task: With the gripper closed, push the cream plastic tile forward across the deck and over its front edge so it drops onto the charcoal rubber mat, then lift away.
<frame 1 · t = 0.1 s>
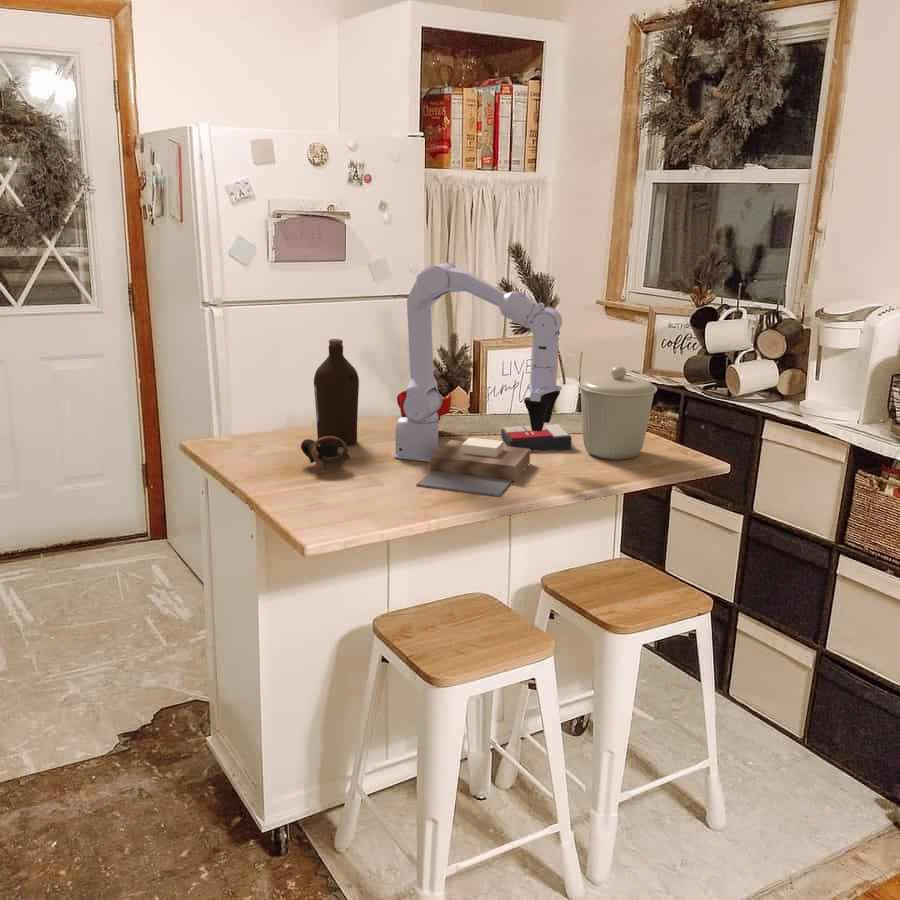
hand: (540, 426, 196), 10 cm above the table, tool pointing down, fingers open, 7 cm apart
deck: (480, 467, 200), on the table
mat: (464, 484, 189), on the table
canister: (612, 454, 212), on the table
tile: (482, 451, 200), point 3 cm above the table, touching deck
calculator: (535, 446, 219), on the table
olive oil: (337, 443, 217), on the table
ceramic cup: (419, 432, 228), on the table
pottery mug: (325, 468, 198), on the table
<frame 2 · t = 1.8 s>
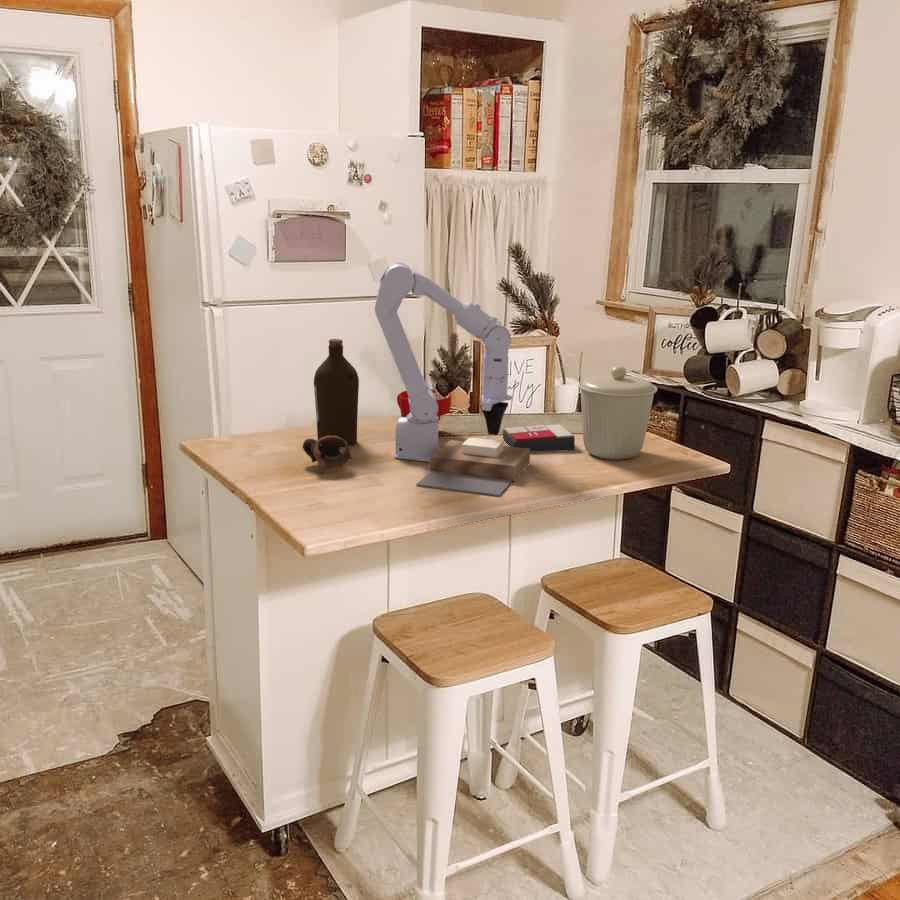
hand: (493, 434, 207), 5 cm above the table, tool pointing down, fingers closed
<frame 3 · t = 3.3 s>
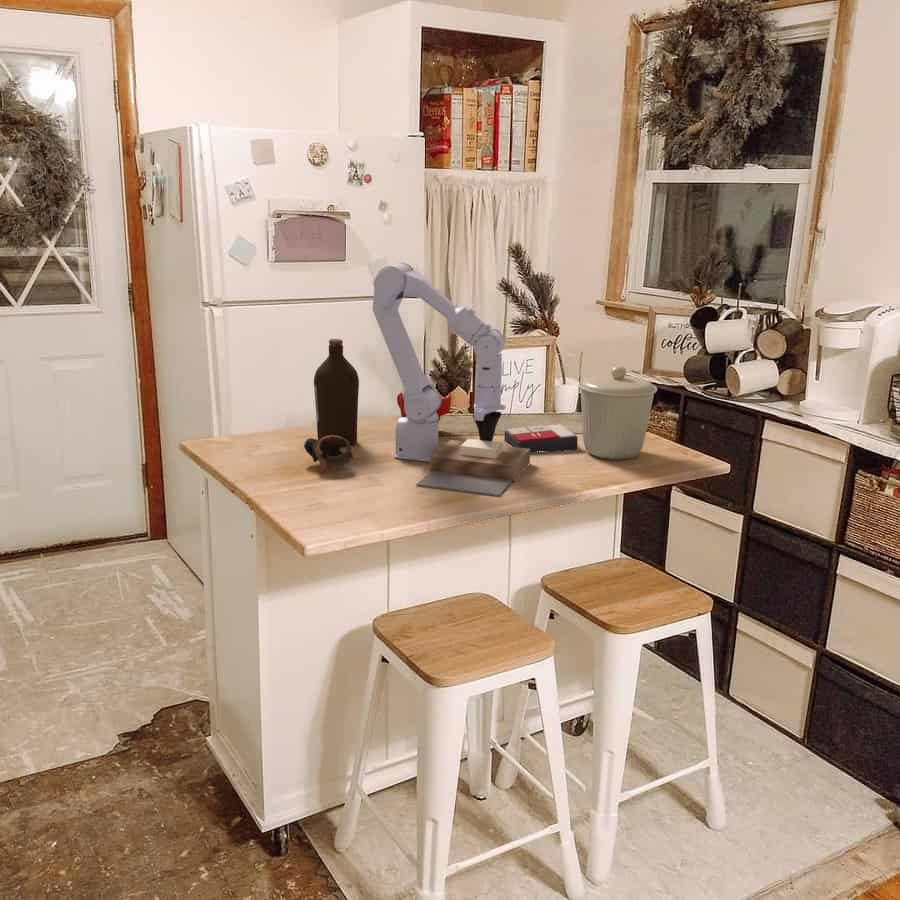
hand: (486, 444, 202), 4 cm above the table, tool pointing down, fingers closed
tile: (481, 452, 199), point 4 cm above the table, touching gripper
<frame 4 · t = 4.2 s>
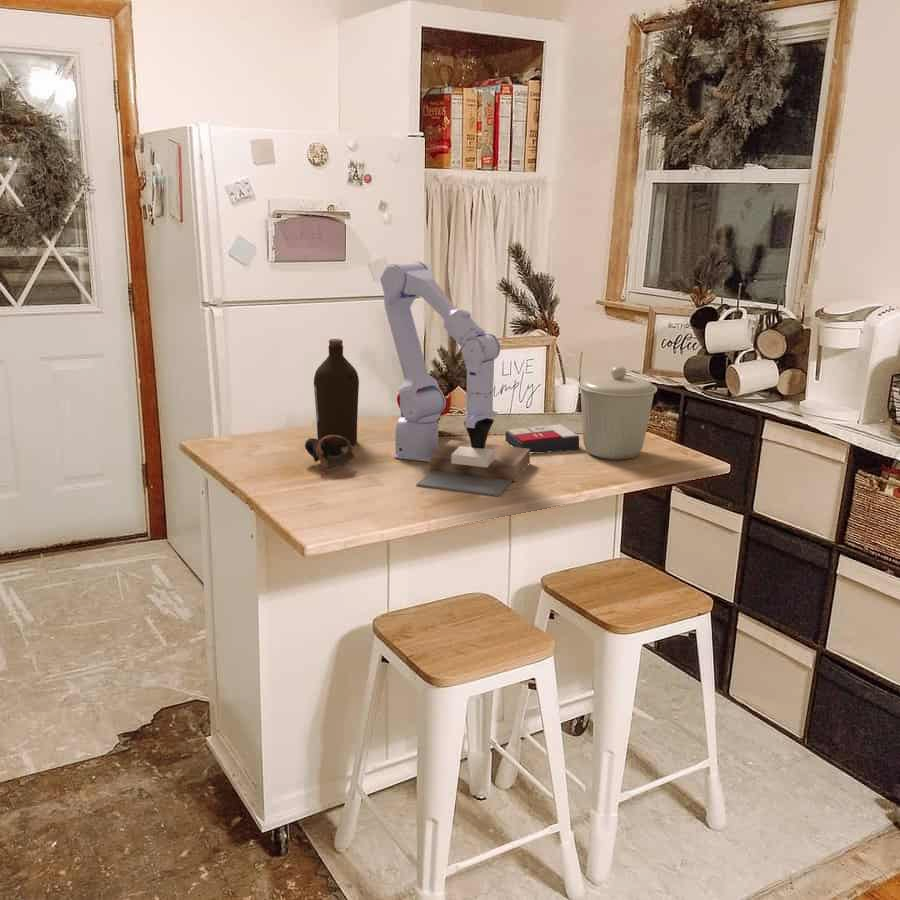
hand: (478, 452, 196), 4 cm above the table, tool pointing down, fingers closed
tile: (473, 461, 193), point 4 cm above the table, touching gripper
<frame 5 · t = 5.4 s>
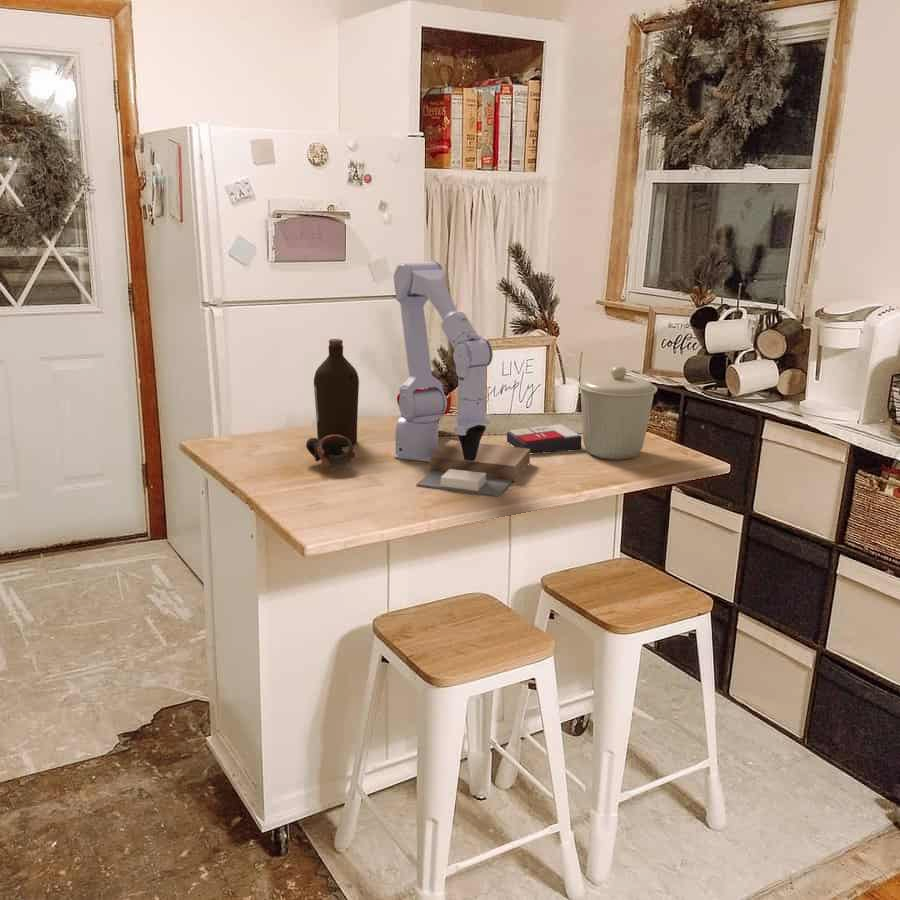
hand: (469, 459, 191), 4 cm above the table, tool pointing down, fingers closed
tile: (463, 475, 187), point 2 cm above the table, tilted 180°, touching mat
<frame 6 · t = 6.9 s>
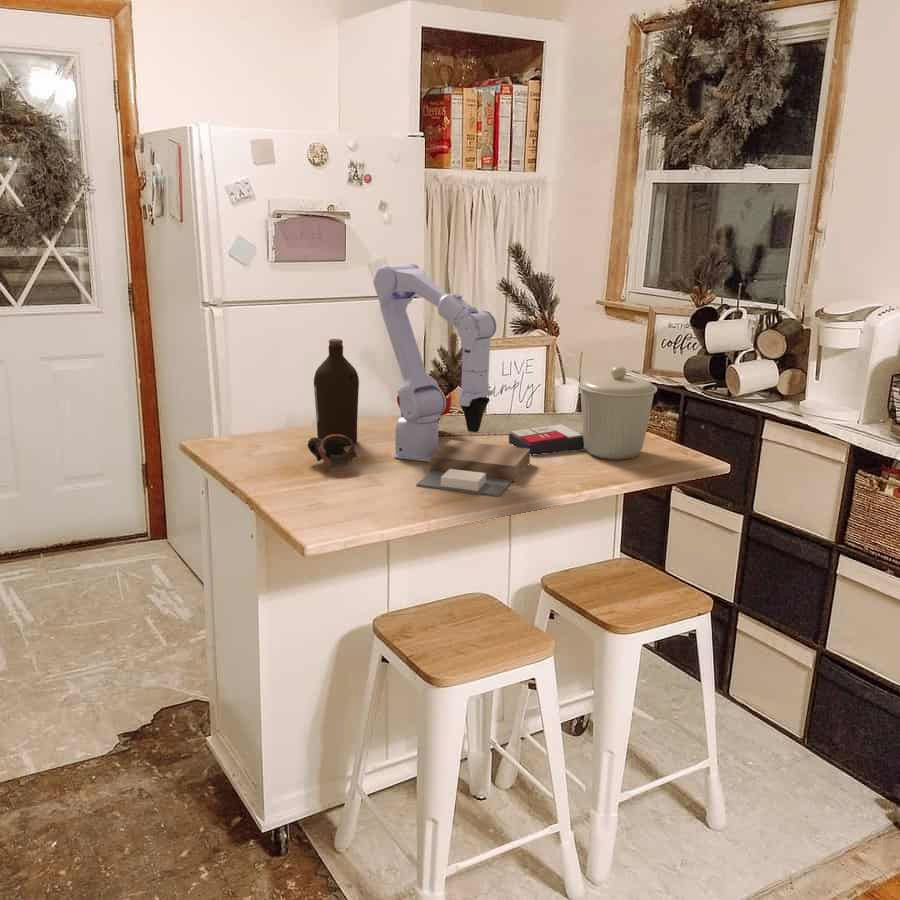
hand: (473, 431, 194), 9 cm above the table, tool pointing down, fingers closed
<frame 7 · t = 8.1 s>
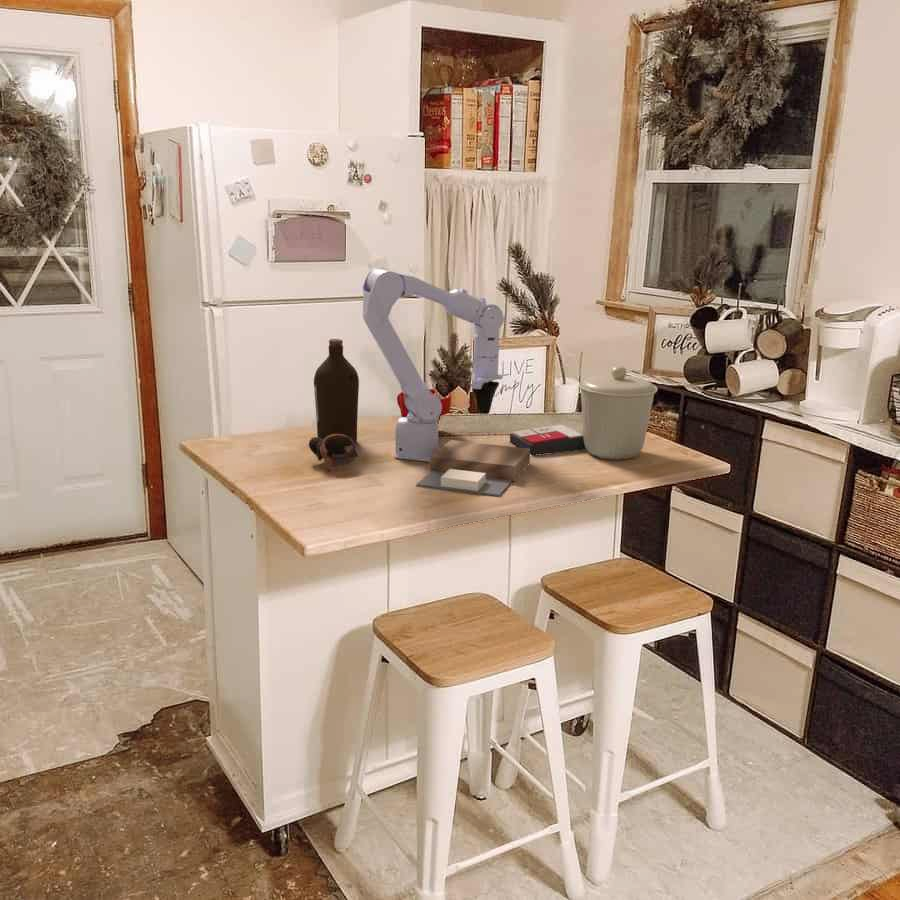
hand: (484, 413, 209), 9 cm above the table, tool pointing down, fingers closed
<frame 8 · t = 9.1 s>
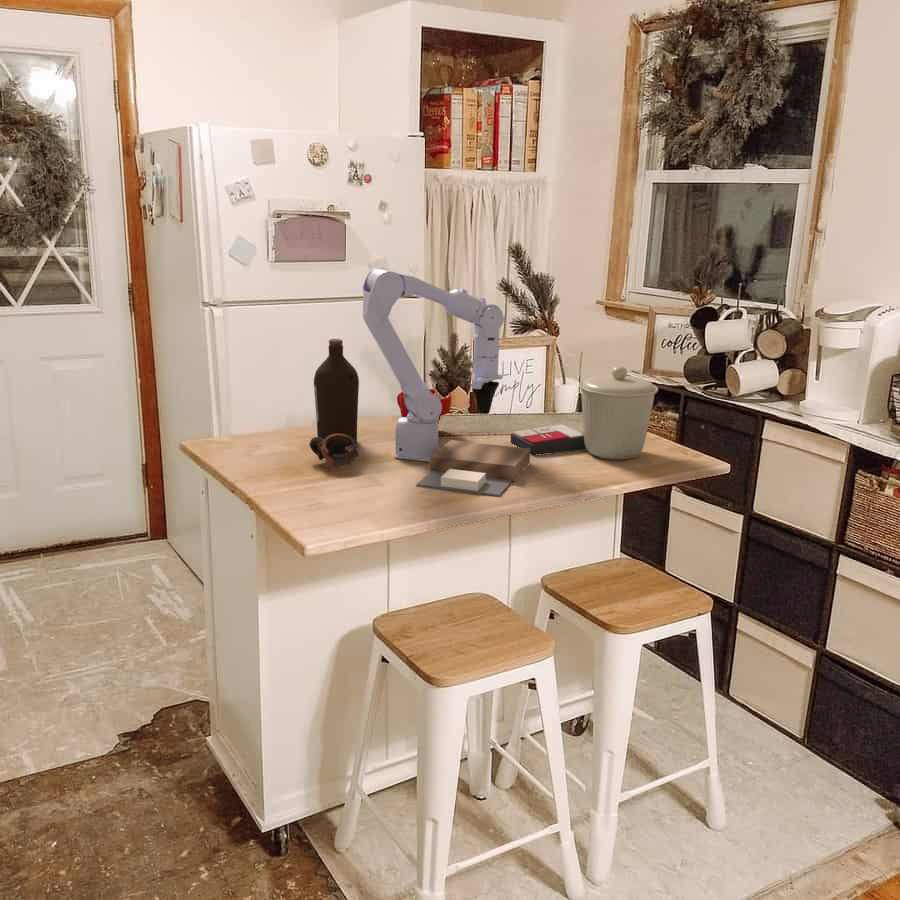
hand: (484, 413, 209), 9 cm above the table, tool pointing down, fingers closed
at the end: tile inside the target area (1.3 cm from its centre), point 2.4 cm above the table; tile touching mat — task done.
